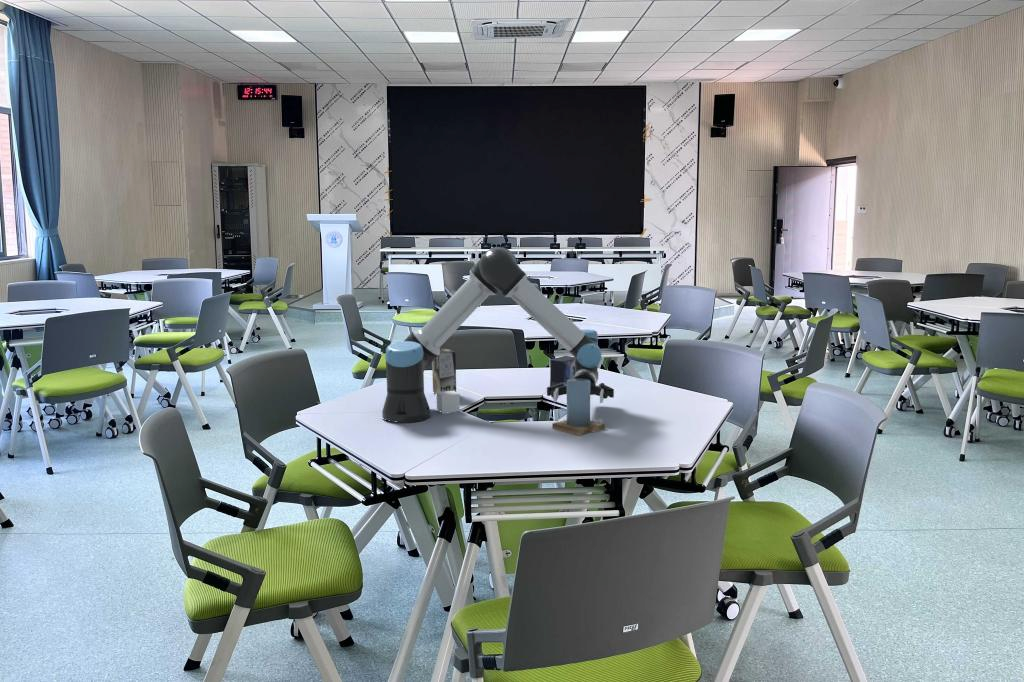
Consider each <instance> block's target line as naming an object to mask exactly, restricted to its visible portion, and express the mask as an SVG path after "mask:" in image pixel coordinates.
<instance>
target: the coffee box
mask: <svg viewBox="0 0 1024 682" xmlns="http://www.w3.org/2000/svg"><path fill="white" fill-rule="evenodd" d="M456 358H457V355H456V351H454V350H452V349H449V348H440V354H439V355H438V356H437V357H436V359H435V360H434V361H433V362H432V363H431V368H432V369H431V370H432V371H431V372H432V374H431V375H432V393H433V392H434V393H435V394H436V392H445V391H455V392H457V364H456V361H457V359H456ZM435 394H434V395H435Z"/></svg>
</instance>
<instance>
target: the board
mask: <svg viewBox="0 0 1024 682" xmlns="http://www.w3.org/2000/svg"><path fill="white" fill-rule="evenodd" d="M551 426H552V429H554V430H557V431H561V432H565V433H568V434H571V435H576V436H582V435H585V434H589V433H590V434H591V433H593V432H598V431H601V430H605V428H606V427H605V426H606V424H605V423H602V422H599V421H596V420H595V421H594V420H592V419H590V425H588V426H583V427H575V426H569V425H567V419H564V420H561V421H557V422H553V423H552V424H551Z"/></svg>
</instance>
